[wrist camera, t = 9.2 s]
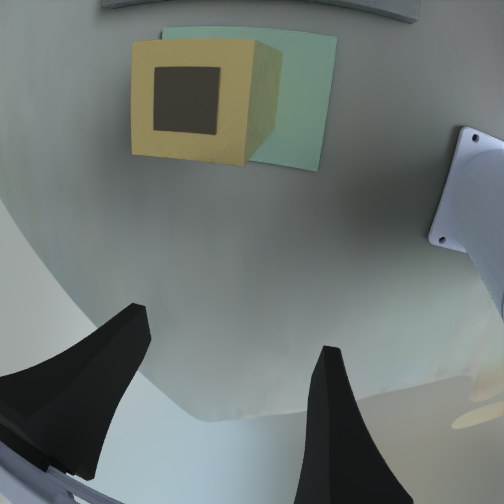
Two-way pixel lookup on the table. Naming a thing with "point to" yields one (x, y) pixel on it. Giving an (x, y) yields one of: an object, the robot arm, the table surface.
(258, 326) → the table surface
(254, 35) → the mat
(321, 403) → the robot arm
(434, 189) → the table surface
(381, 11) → the grey slotted base board
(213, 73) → the tan box
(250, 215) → the table surface
